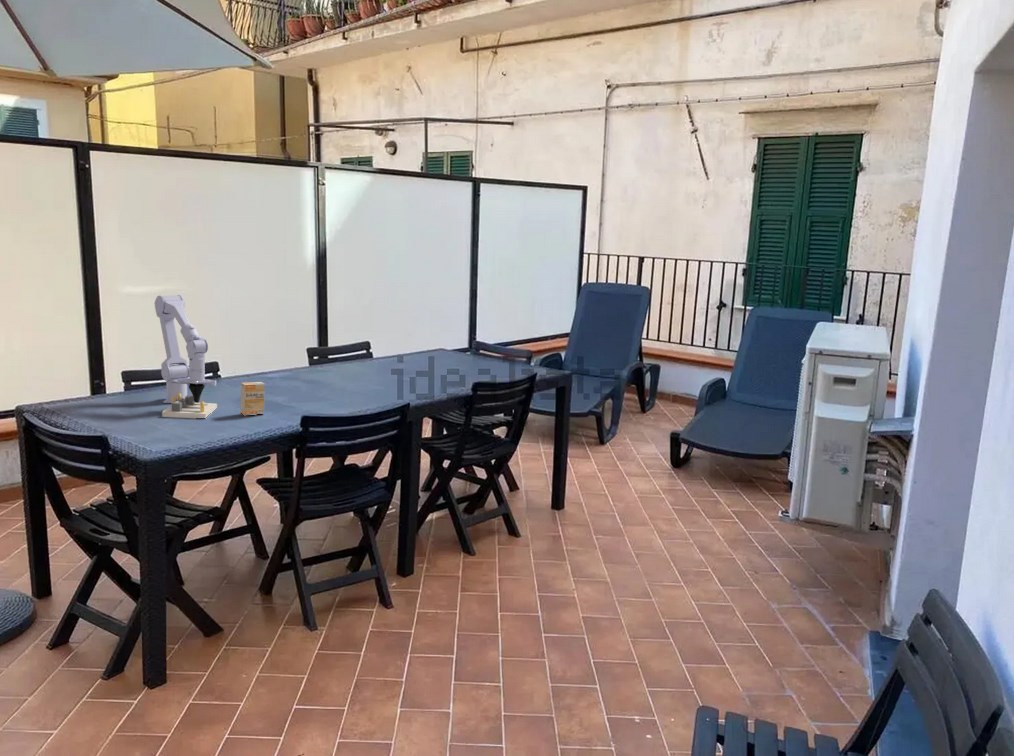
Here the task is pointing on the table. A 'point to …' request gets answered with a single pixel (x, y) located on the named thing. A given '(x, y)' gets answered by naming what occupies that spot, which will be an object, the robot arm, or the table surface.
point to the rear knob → (189, 400)
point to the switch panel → (190, 410)
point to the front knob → (177, 406)
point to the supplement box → (252, 398)
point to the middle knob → (182, 402)
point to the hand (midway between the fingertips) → (196, 402)
